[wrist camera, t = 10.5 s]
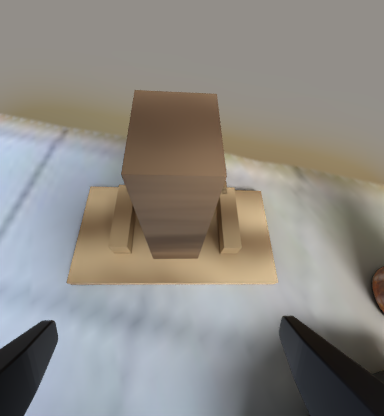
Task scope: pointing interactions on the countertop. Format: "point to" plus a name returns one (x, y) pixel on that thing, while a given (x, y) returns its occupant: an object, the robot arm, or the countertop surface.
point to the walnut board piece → (174, 169)
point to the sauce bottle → (379, 287)
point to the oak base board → (172, 268)
